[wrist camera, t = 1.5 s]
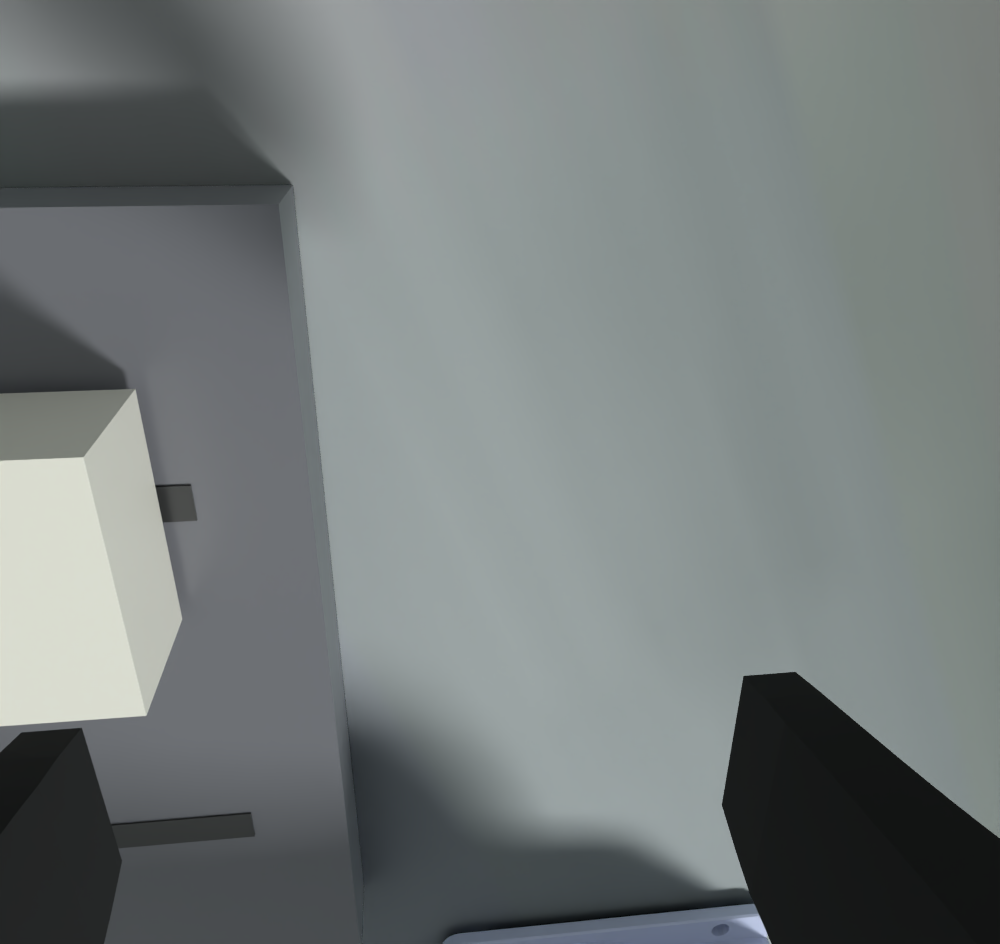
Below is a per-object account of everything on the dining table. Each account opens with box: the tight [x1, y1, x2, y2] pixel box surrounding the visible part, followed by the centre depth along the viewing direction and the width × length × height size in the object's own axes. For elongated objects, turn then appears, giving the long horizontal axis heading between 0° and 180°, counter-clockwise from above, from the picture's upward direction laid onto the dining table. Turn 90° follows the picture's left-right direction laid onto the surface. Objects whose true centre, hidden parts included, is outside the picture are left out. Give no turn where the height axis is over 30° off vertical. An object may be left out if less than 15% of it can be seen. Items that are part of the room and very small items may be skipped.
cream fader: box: [0, 389, 182, 726], centre depth 13 cm, size 3×4×2 cm, turn 0°
